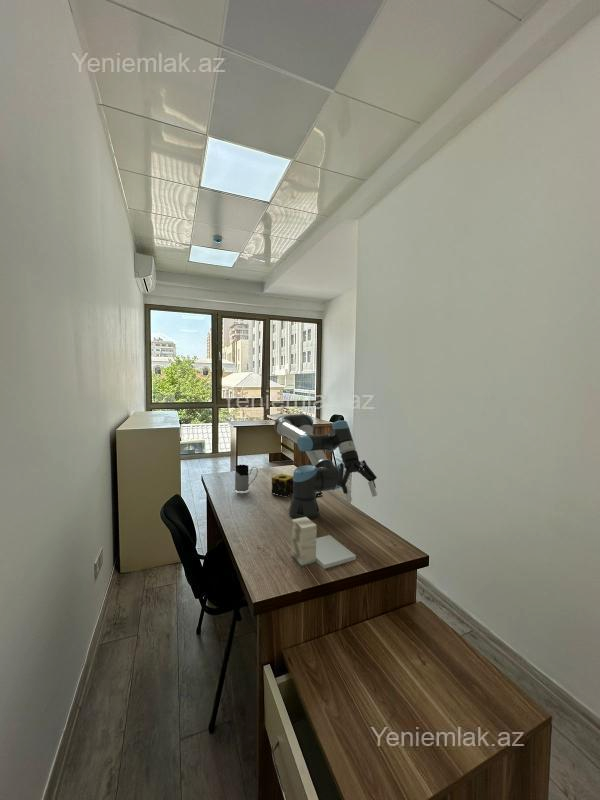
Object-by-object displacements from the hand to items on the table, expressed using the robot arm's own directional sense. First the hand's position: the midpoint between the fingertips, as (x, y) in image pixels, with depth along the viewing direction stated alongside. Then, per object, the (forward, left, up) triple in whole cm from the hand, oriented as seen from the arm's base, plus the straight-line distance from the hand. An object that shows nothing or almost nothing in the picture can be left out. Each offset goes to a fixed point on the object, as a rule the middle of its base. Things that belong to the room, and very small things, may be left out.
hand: (362, 498), depth 142 cm
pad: (+7, -22, -16) cm, 28 cm away
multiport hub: (-49, +2, -16) cm, 52 cm away
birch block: (+7, -33, -16) cm, 37 cm away
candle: (-60, -10, -16) cm, 63 cm away
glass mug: (-74, -28, -16) cm, 81 cm away
